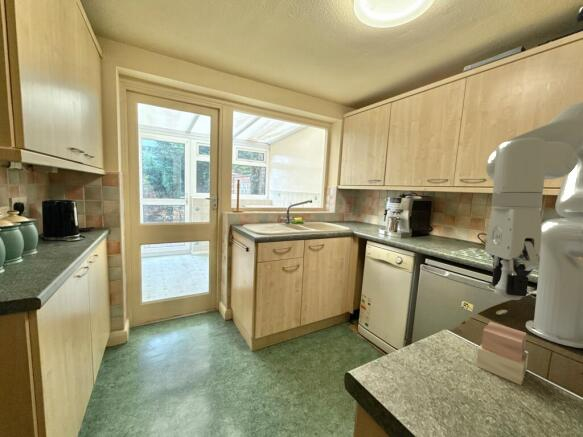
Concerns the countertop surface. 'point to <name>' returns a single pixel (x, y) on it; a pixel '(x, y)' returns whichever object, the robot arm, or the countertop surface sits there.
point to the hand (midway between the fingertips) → (508, 289)
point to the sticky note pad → (503, 352)
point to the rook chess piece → (505, 281)
